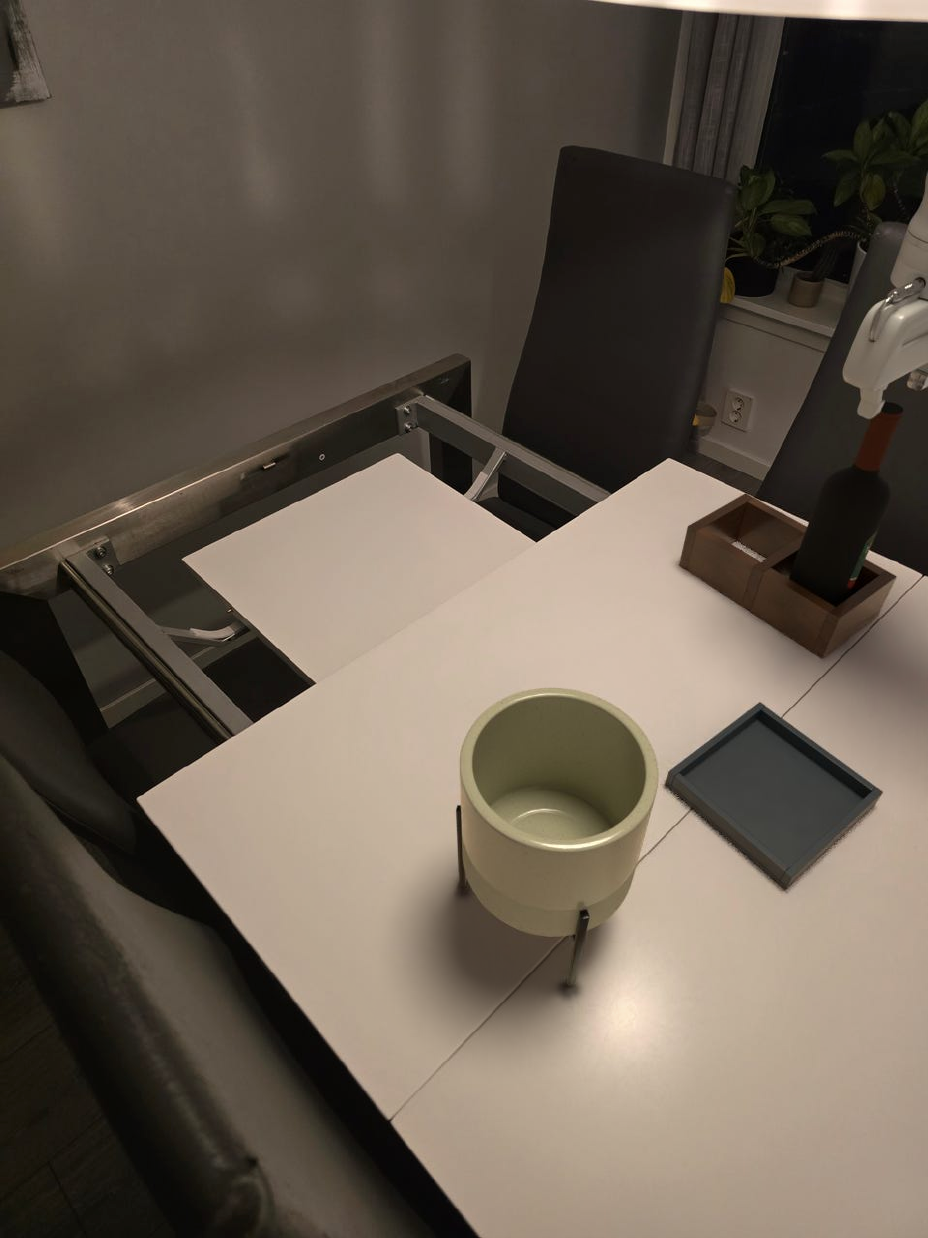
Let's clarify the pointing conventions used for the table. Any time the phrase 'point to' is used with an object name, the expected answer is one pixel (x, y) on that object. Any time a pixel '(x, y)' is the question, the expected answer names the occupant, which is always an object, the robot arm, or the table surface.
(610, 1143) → the table surface
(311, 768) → the table surface
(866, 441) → the wine bottle
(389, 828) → the table surface
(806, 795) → the tray
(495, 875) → the planter
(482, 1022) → the table surface
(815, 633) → the divided storage box
